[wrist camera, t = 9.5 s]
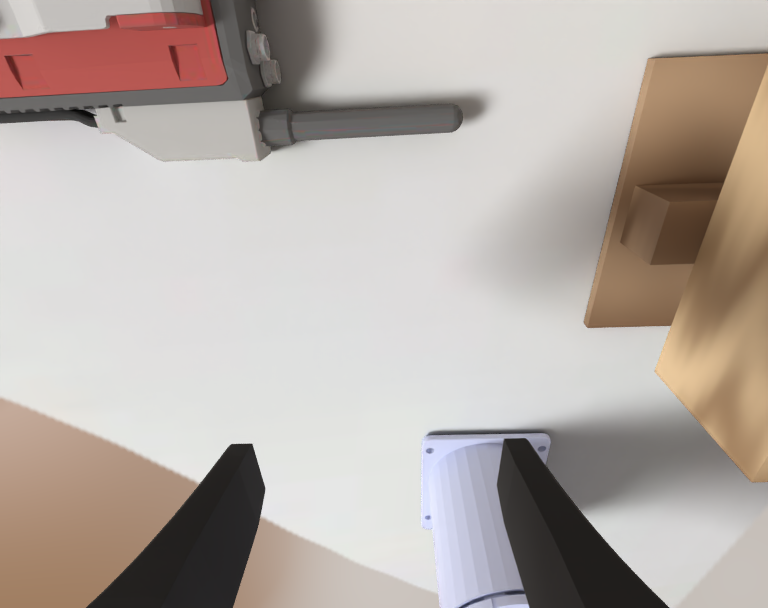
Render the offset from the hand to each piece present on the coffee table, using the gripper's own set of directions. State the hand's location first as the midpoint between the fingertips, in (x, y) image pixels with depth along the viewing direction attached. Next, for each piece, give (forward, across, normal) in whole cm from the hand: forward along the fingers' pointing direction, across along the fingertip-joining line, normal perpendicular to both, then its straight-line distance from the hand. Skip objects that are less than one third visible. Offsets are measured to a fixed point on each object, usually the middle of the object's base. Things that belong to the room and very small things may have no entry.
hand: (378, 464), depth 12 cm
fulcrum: (+10, -15, -4) cm, 18 cm away
